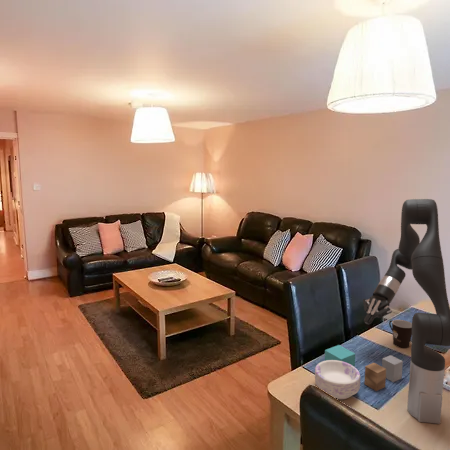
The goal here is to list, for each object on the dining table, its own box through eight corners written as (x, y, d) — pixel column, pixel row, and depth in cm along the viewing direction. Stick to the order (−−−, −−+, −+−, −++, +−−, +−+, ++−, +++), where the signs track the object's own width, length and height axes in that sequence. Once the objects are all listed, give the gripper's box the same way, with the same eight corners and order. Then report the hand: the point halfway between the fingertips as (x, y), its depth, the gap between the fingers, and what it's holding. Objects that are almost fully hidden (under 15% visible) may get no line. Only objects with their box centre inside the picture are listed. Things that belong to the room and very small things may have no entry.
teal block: (354, 372, 131) (355, 353, 130) (340, 379, 127) (341, 359, 126) (338, 363, 138) (339, 344, 137) (324, 368, 134) (324, 350, 133)
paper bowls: (306, 384, 125) (306, 364, 123) (339, 375, 130) (340, 355, 129) (333, 410, 111) (333, 387, 109) (369, 399, 116) (370, 377, 115)
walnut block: (385, 386, 122) (386, 368, 121) (376, 391, 120) (377, 373, 119) (373, 379, 127) (374, 362, 126) (364, 384, 124) (365, 366, 123)
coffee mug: (414, 350, 148) (416, 328, 146) (393, 348, 149) (394, 327, 148) (406, 337, 159) (407, 317, 158) (386, 336, 161) (387, 316, 159)
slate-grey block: (401, 378, 128) (402, 361, 127) (393, 382, 125) (394, 364, 124) (389, 371, 132) (390, 355, 131) (381, 375, 129) (382, 358, 128)
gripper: (369, 280, 146) (349, 312, 142) (398, 288, 135) (377, 324, 131) (376, 290, 150) (356, 322, 145) (405, 298, 138) (384, 334, 134)
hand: (366, 323), depth 138 cm, fingers closed
